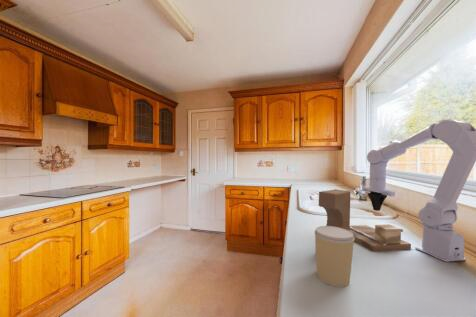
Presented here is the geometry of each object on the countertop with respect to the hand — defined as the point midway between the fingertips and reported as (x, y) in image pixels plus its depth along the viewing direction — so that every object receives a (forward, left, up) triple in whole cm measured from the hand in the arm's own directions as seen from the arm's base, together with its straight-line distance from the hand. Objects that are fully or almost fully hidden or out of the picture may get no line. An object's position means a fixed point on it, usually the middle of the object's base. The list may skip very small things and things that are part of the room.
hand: (376, 210), depth 88 cm
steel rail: (-6, +12, -8) cm, 15 cm away
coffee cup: (-28, +40, -10) cm, 50 cm away
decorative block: (-14, +30, -10) cm, 34 cm away
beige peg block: (-13, +7, -7) cm, 16 cm away
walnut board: (-6, +9, -9) cm, 14 cm away
